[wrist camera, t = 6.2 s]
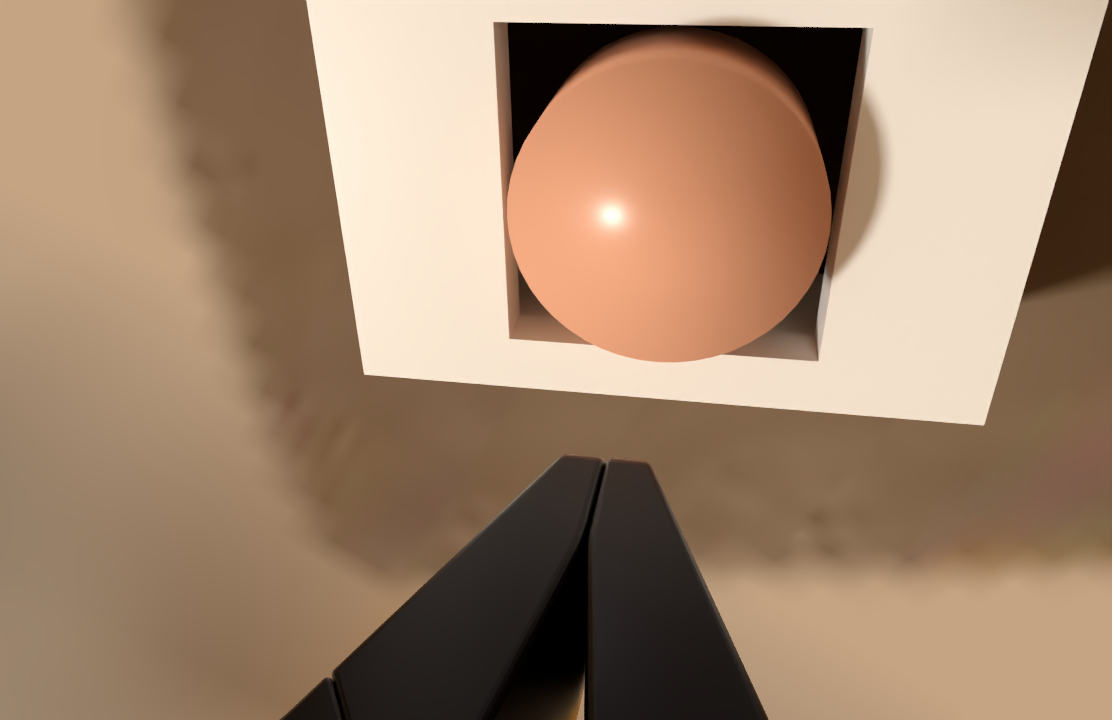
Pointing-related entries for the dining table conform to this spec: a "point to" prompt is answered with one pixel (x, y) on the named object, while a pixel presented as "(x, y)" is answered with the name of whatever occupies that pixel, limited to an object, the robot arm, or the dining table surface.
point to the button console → (857, 228)
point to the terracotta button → (671, 197)
